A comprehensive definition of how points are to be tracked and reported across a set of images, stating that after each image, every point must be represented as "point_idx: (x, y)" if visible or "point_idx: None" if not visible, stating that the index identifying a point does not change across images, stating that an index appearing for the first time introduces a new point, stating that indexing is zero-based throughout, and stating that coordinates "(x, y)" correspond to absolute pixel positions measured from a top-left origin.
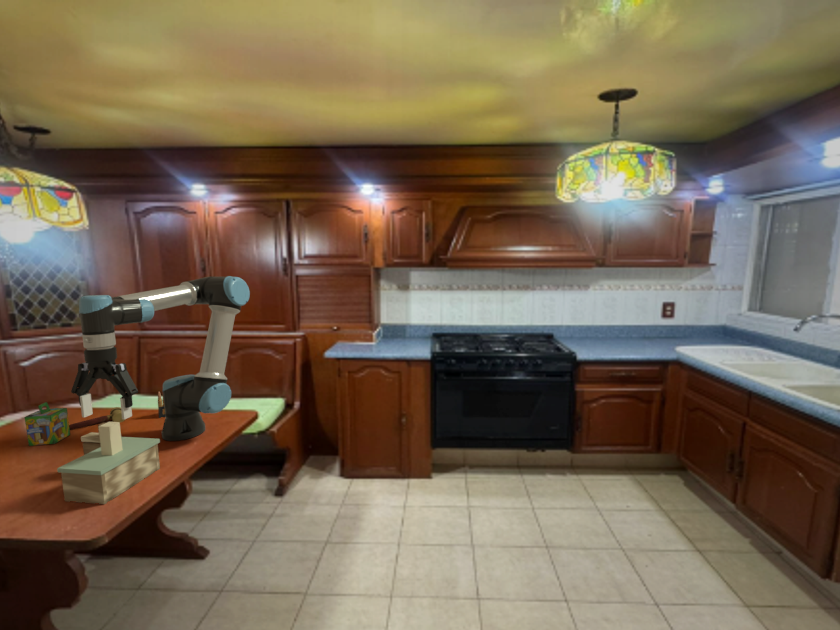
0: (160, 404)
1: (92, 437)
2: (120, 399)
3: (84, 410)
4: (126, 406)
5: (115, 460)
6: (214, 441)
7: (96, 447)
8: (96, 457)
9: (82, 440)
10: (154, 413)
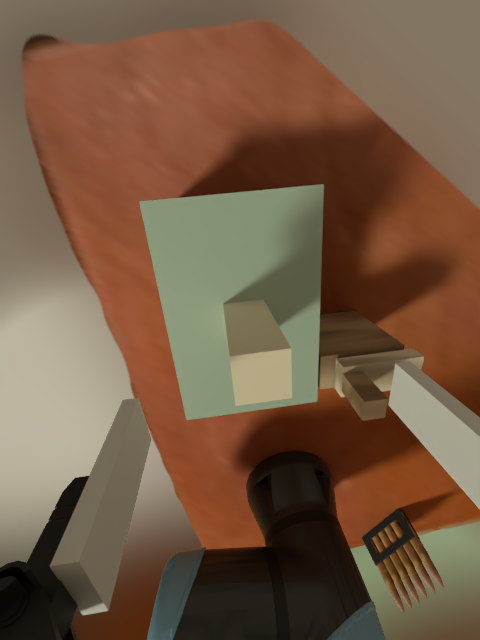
0: (415, 545)
1: (380, 362)
2: (84, 542)
3: (423, 394)
4: (84, 484)
5: (173, 279)
6: (186, 474)
7: (351, 345)
8: (262, 280)
9: (410, 350)
10: (425, 518)
